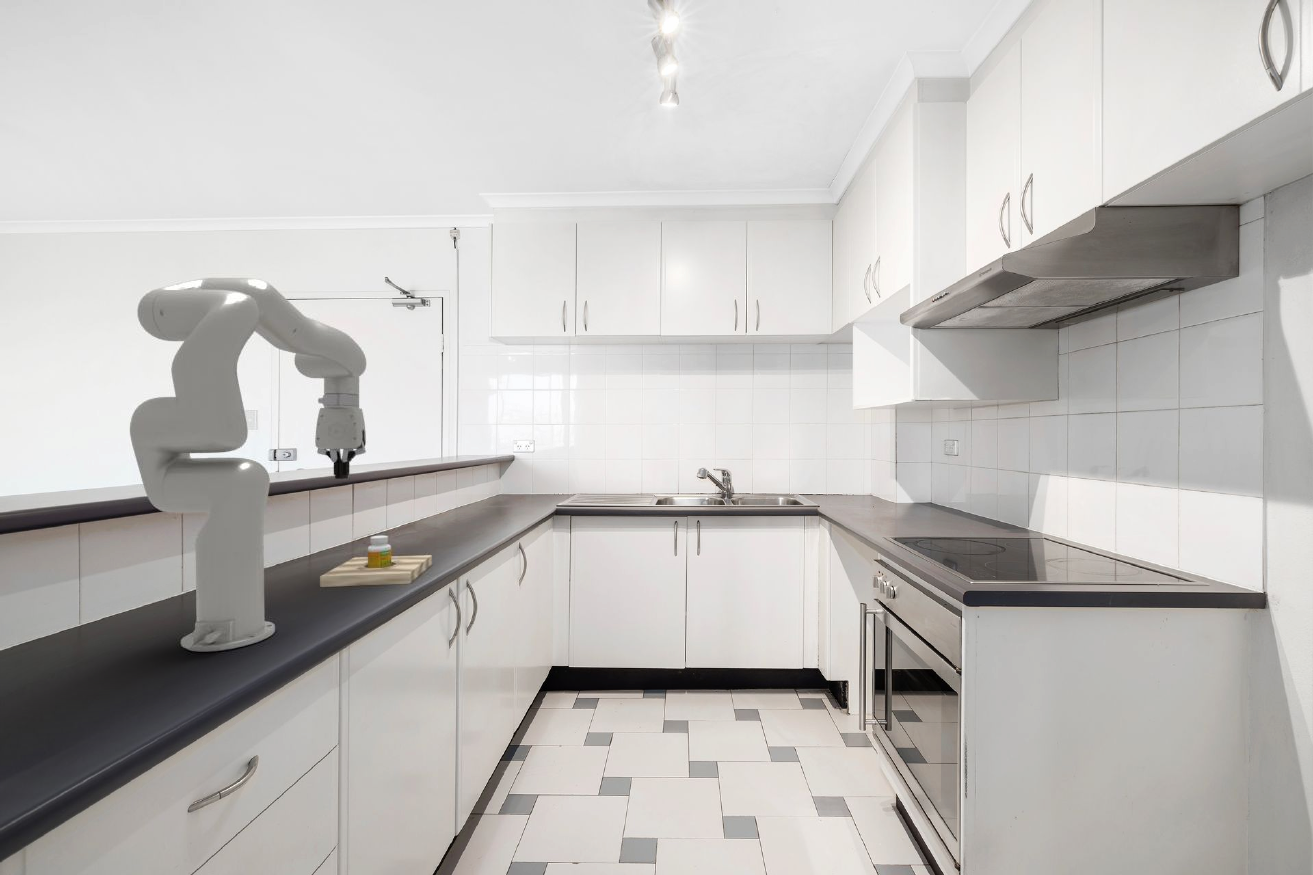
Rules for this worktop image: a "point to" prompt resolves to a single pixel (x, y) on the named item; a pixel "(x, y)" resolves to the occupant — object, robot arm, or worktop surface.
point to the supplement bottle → (379, 552)
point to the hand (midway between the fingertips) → (341, 478)
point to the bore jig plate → (376, 572)
